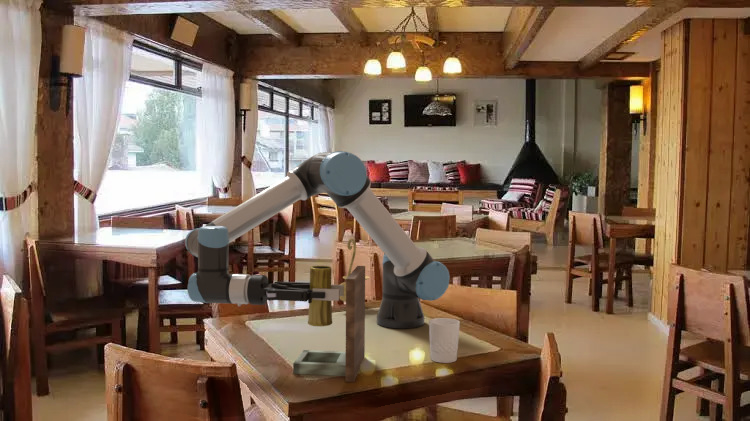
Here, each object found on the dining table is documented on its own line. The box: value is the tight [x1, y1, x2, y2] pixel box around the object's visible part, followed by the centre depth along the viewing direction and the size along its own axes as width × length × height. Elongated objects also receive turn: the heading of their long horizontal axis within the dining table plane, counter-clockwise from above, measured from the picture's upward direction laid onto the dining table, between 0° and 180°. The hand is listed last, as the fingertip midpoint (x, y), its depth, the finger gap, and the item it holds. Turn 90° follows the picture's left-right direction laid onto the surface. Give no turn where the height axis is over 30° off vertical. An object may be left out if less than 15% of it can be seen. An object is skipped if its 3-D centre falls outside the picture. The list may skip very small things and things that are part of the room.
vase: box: [307, 265, 333, 327], centre depth 161 cm, size 6×6×14 cm
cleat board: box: [292, 265, 366, 383], centre depth 159 cm, size 15×20×24 cm
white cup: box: [428, 317, 461, 364], centre depth 167 cm, size 8×8×10 cm
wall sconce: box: [339, 237, 370, 303], centre depth 227 cm, size 14×10×25 cm
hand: (341, 292), depth 160 cm, fingers closed on vase, 5 cm apart
